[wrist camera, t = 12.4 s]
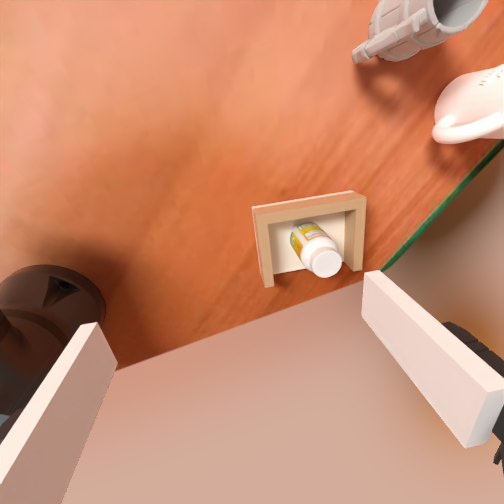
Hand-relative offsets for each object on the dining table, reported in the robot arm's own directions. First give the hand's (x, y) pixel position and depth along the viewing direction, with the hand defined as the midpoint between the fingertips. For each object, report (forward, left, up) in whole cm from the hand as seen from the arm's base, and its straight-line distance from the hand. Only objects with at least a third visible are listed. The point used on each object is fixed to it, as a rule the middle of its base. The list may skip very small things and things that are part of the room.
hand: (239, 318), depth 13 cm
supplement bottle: (+12, -9, -28) cm, 32 cm away
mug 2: (+34, +6, -29) cm, 45 cm away
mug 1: (+23, +16, -29) cm, 40 cm away
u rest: (+12, -9, -29) cm, 32 cm away
